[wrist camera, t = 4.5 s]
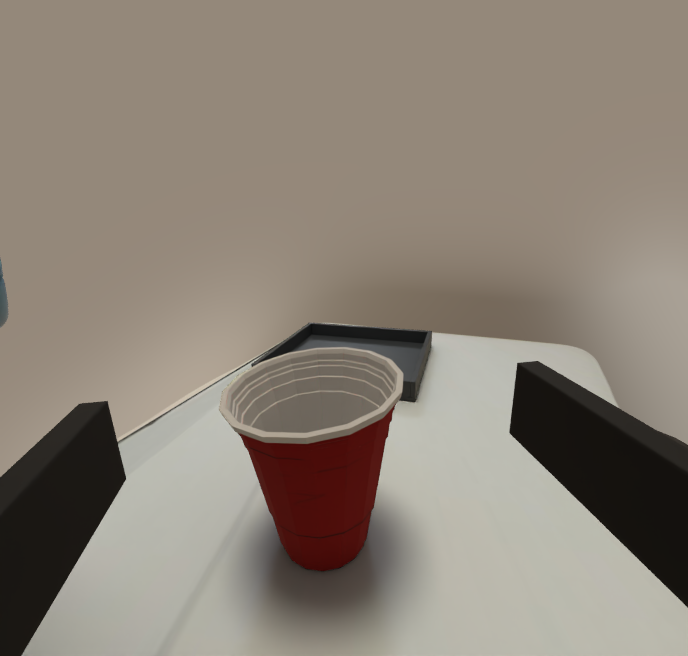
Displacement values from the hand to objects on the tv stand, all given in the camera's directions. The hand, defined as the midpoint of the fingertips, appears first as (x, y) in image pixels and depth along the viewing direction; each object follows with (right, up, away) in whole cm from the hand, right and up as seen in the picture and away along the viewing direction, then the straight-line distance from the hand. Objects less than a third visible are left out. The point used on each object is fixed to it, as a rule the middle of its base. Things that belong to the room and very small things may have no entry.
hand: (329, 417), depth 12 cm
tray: (+1, -2, +43) cm, 43 cm away
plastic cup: (-1, -12, +14) cm, 18 cm away
